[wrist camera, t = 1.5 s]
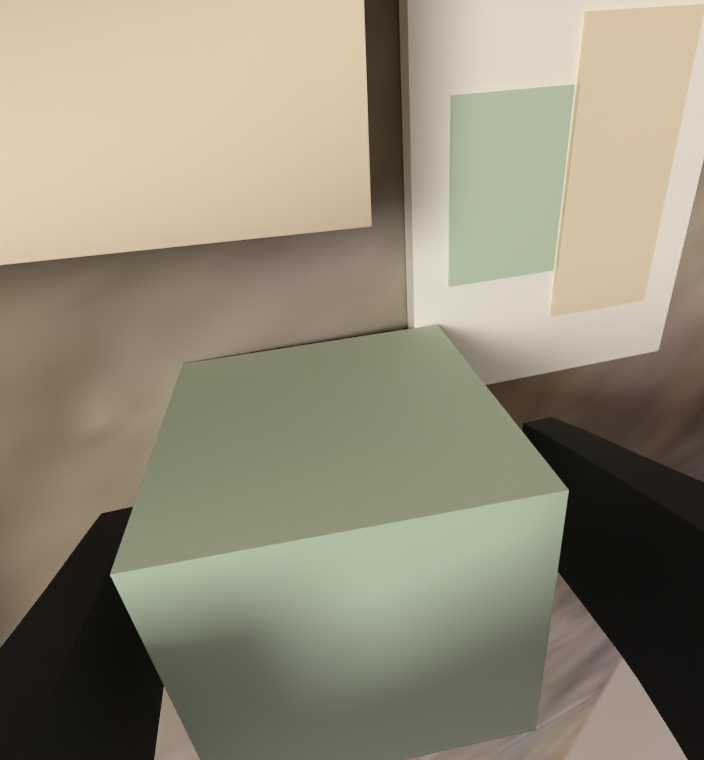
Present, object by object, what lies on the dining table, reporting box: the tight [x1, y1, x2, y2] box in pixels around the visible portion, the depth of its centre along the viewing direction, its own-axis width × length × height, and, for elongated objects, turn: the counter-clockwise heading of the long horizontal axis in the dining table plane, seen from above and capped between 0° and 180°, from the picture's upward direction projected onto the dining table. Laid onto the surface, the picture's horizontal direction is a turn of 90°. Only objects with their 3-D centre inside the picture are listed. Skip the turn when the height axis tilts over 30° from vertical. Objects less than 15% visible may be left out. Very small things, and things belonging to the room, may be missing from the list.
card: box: [399, 0, 704, 385], centre depth 9 cm, size 8×6×1 cm
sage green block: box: [110, 325, 569, 760], centre depth 9 cm, size 5×5×5 cm
